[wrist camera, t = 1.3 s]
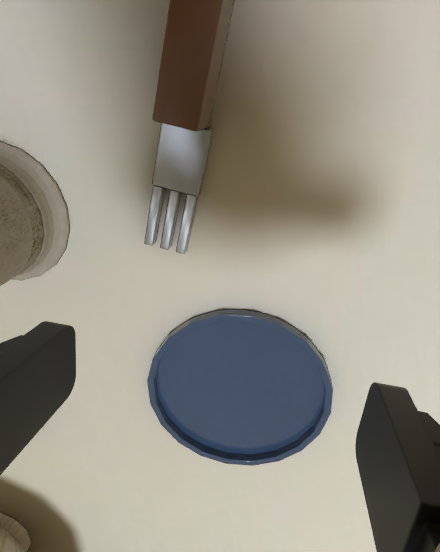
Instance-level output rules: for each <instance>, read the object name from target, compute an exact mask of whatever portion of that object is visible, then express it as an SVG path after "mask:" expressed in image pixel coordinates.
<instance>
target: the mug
mask: <svg viewBox="0 0 440 552" xmlns="http://www.w3.org/2000/svg"><path fill="white" fill-rule="evenodd" d="M69 231H70V226H69V218H68V210H67V206H66V203H65V201H64V199H63V196H62V194H61V192H60V189H59V187H58V185H57V184H56V182H55V181H54V180H53V178H52V177H51V176H50V175H49V173H48V172H47V171H46V170H45V168H44V167H43V166H42V165H41V164H40V163H39V162H37V161H36V160H35V159H33V158H32V157H31V156H29V155H28V154H27V153H25V152H24V151H23V150H21V149H19V148H16V147H14V146H11V145H9V144H6V143H3V142H1V141H0V286H1V285H2V284H4V283H6V282H7V281H9V280H10V279H14V280H25V279H29V278H33V277H37V276H41V275H42V274H43V273H45V272H46V271H48V270H49V269H50V268H52V267H53V266H55V265H56V264H57V262H58V261H59V259H60V257H61V256H62V254H63V253H64V251H65V249H66V246H67V241H68V236H69Z"/></svg>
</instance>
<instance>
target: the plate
mask: <svg viewBox="0 0 440 552" xmlns="http://www.w3.org/2000/svg"><path fill="white" fill-rule="evenodd" d="M148 389H149V397H150V403H151V406H152V408H153V410H154V411H155V413H156V415H157V417H158V419H159V421H160V423H161V425H162V426H163V427H164V428H165V429H166V430H167V431H168V432H169V433H170V434H171V435H172V436H173V437H174V438H175V439H176V440H177V441H178V442H179V443H180V444H182V445H184V446H185V447H187V448H189V449H190V450H192V451H194V452H195V453H197V454H199V455H201V456H203V457H207V458H210V459H213V460H216V461H220V462H223V463H226V464H239V465H258V464H264V463H270V462H276V461H280V460H282V459H284V458H286V457H289V456H291V455H293V454H295V453H297V452H300V451H301V450H303V449H304V448H305V447H306V446H307V445H308V444H309V443H311V442H312V441H313V440H314V439H315V438H316V437H317V436H318V435H319V434H320V433H321V431H322V429H323V427H324V425H325V423H326V421H327V419H328V417H329V415H330V414H331V405H332V393H333V388H332V383H331V380H330V377H329V374H328V370H327V367H326V364H325V361H324V359H323V358H322V356H321V354H320V353H319V351H318V350H317V349H316V347H315V346H314V345H313V343H312V342H311V341H310V340H309V339H308V338H307V337H306V336H305V335H304V334H302V333H301V332H300V331H299V330H297V329H296V328H295V327H293V326H291V325H290V324H288V323H286V322H284V321H282V320H280V319H278V318H275V317H273V316H270V315H267V314H264V313H260V312H255V311H249V310H237V309H231V310H219V311H214V312H209V313H206V314H202V315H199V316H197V317H195V318H192V319H190V320H188V321H186V322H185V323H183V324H182V325H180V326H179V327H177V328H176V329H175V330H174V331H173V332H171V333H170V334H169V335H168V337H167V338H166V339H165V340H164V341H163V343H162V345H161V346H160V348H159V349H158V350H157V352H156V353H155V355H154V357H153V360H152V364H151V368H150V372H149V376H148Z"/></svg>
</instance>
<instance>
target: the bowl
mask: <svg viewBox="0 0 440 552" xmlns="http://www.w3.org/2000/svg"><path fill="white" fill-rule="evenodd" d="M30 543H31V541H30V538H29V535H28V532H27V530H26V529H25V528H24V527H23V526H22V525H21V524H20V523H18V522H17V521H16V520H15V519H13V518H11V517H9V516H7V515H4V514H2V513H0V552H26V551H27V549H28V547H29V545H30Z"/></svg>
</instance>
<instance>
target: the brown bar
mask: <svg viewBox="0 0 440 552" xmlns="http://www.w3.org/2000/svg"><path fill="white" fill-rule="evenodd" d="M233 5H234V0H170V4H169V11H168V18H167V25H166V32H165V38H164V45H163V52H162V59H161V65H160V72H159V79H158V86H157V92H156V99H155V106H154V113H153V120H154V121H156V122H160V123H162V124H161V131H160V137H159V143H158V150H157V156H156V162H155V169H154V175H153V181H152V184H153V185H154V186H153V191H152V197H151V204H150V210H149V216H148V223H147V229H146V235H145V241H144V243H145V244H148V245H153V244H154V243H155V242H156V237H157V231H158V225H159V219H160V213H161V208H162V202H163V196H164V190H165V188H167V189H171V190H170V194H169V200H168V205H167V211H166V217H165V222H164V228H163V234H162V239H161V245H160V248H163V249H167V250H168V249H169V248H170V247H171V244H172V238H173V233H174V228H175V223H176V217H177V212H178V207H179V202H180V196H181V192H183V193H186V194H187V197H186V202H185V207H184V212H183V218H182V223H181V228H180V233H179V238H178V243H177V248H176V252H178V253H182V254H185V252H186V250H187V246H188V241H189V236H190V231H191V227H192V222H193V217H194V212H195V207H196V202H197V198H198V195H199V194H200V191H201V186H202V181H203V176H204V171H205V167H206V162H207V157H208V152H209V148H210V143H211V138H212V133H213V130H211V129H207V128H208V127H209V123H210V118H211V113H212V108H213V103H214V99H215V94H216V89H217V84H218V79H219V74H220V69H221V64H222V59H223V54H224V50H225V45H226V40H227V35H228V30H229V25H230V20H231V15H232V10H233Z"/></svg>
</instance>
